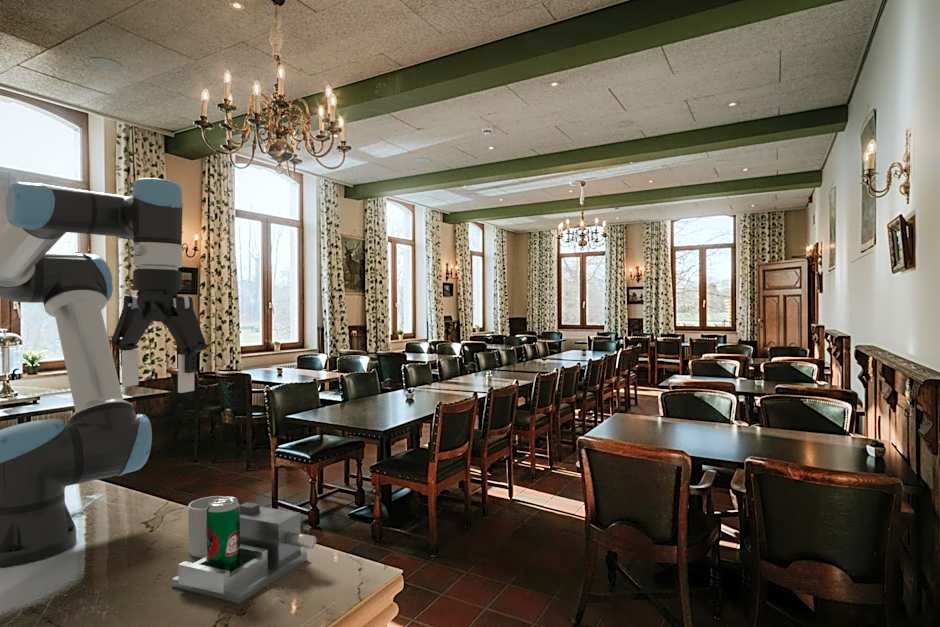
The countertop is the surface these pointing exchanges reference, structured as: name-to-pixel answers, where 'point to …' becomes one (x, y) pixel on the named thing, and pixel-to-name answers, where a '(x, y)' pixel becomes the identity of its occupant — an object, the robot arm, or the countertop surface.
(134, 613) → the countertop surface
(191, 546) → the cup
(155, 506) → the countertop surface
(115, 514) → the countertop surface
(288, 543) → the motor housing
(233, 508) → the soda can
